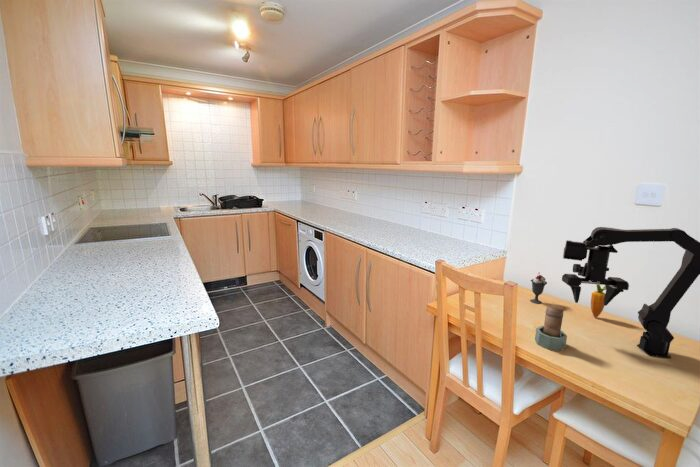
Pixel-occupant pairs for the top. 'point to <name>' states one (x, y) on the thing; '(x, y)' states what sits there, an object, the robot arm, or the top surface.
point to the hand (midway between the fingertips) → (590, 303)
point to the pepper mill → (553, 321)
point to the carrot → (597, 301)
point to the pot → (550, 340)
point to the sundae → (538, 287)
